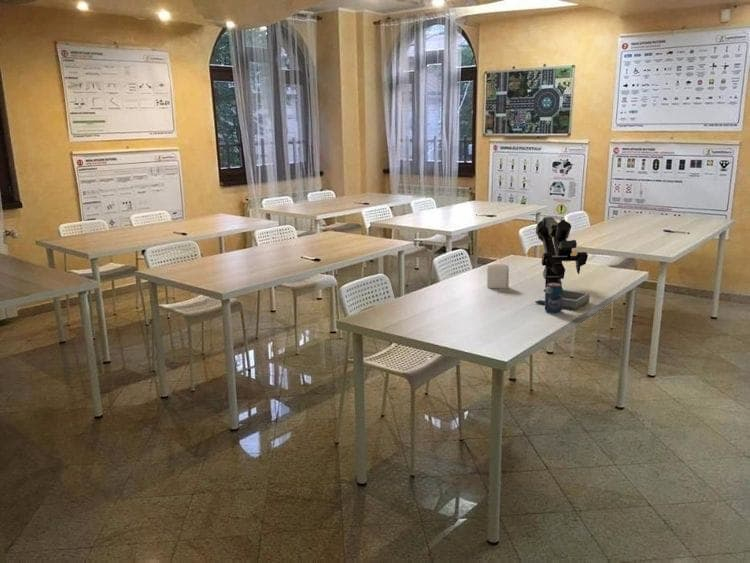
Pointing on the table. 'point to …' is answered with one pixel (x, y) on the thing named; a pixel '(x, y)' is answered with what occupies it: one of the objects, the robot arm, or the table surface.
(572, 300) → the tray
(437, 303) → the table surface
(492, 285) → the photo printer
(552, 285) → the soda can
